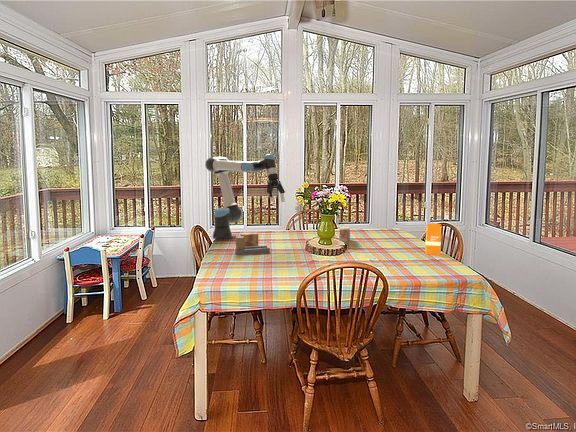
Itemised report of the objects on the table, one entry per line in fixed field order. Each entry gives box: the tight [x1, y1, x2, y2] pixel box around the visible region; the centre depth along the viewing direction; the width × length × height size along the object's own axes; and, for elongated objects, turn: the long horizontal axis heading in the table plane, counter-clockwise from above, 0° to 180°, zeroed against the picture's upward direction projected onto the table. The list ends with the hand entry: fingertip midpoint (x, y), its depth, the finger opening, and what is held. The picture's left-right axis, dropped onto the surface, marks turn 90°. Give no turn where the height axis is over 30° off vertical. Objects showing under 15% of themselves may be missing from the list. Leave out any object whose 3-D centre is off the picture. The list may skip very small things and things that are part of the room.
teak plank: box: [240, 232, 259, 247], centre depth 322 cm, size 14×4×10 cm, turn 107°
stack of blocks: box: [338, 225, 351, 246], centre depth 338 cm, size 21×6×12 cm, turn 168°
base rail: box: [234, 235, 271, 256], centre depth 307 cm, size 22×9×11 cm, turn 107°
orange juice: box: [424, 223, 442, 255], centre depth 304 cm, size 8×9×20 cm
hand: (278, 201), depth 337 cm, fingers open, 13 cm apart
